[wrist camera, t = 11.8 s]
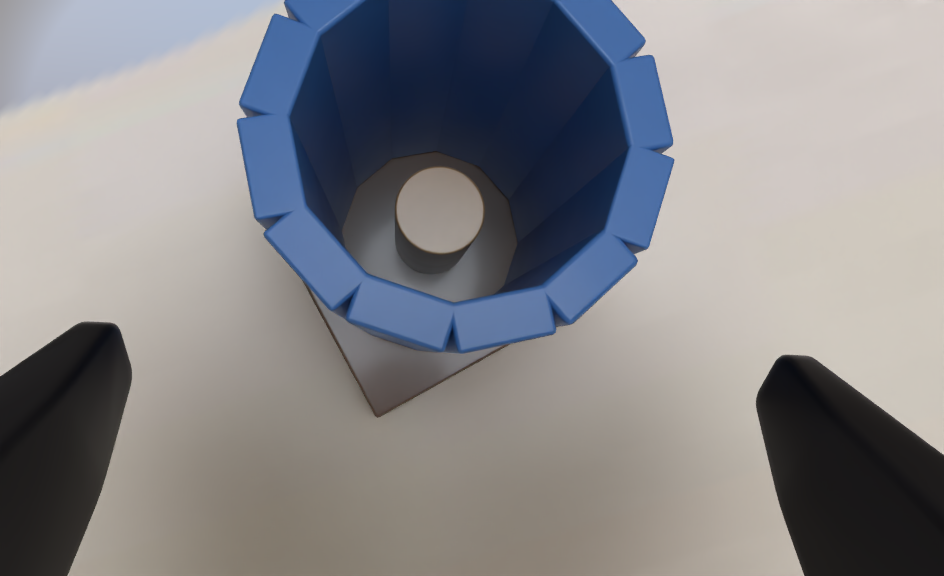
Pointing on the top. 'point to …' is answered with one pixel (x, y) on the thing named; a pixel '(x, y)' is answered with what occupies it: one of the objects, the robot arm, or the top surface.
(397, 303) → the blue ribbed vase
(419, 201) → the stand
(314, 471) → the top surface
